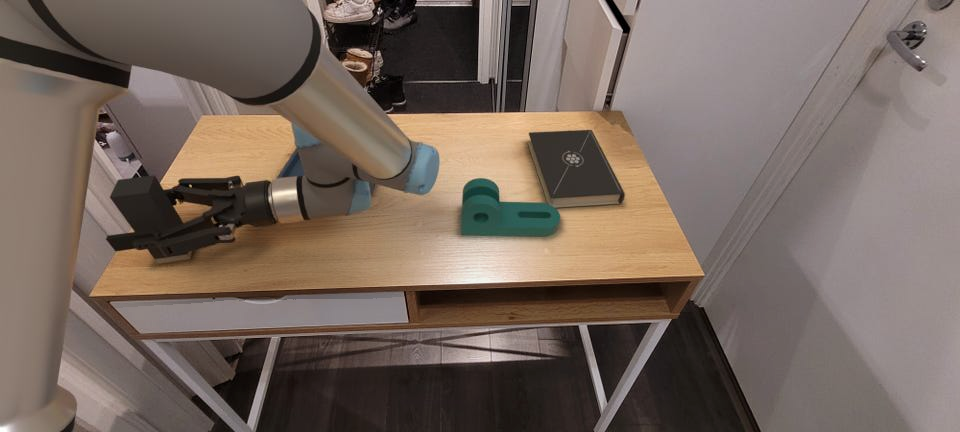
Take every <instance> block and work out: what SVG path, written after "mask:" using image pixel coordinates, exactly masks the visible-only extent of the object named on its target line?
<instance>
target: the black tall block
mask: <svg viewBox="0 0 960 432" xmlns="http://www.w3.org/2000/svg"><path fill="white" fill-rule="evenodd" d="M164 190H165V189H164V188H163V186H162V185H161V183H160V181H159V180H158V178H157V176H156V175H145V176H138V177H130V178H123V179H122V178H121V179H120V178H119V179H117V181H116V183H115V186H114V187H113V189H112V192H111V193H110V195H109V199H110V200H111V201H112V203H113V204H114V205H115V207H116V208H117V210H118V211H119V212H120V214H121V215H122V216H123V218H124V219H125V221H126V222H127V224H128V225H129V227H130V228H131V229H132V230H133V232H138V231H145V230H153V229H157V231H158V232H159V233H160V232H162V231H165V230H167V229H170V228H172V227H175V226H177V225H180V224H183V223H184V221H183V220H182V218H181V216H180V215H179V213H178V212H177V210H176V208H175V205H174V206H173V205H172V203H171V201H170V200H169V198H168V196H167V195H166V193H165V191H164ZM167 239H170V238H167ZM146 250H147V251H148V252H149V254H150V256H151V257H152V258H153V259H154V261H155V262H156V263H157V264H158V265H161V264H167V263H173V262H179V261H187V260H191V258H192V254H193V251H189V252H185V253H182V254H178V255H174V256H171V257H165V256H164V254H163V253H162V252H161V250H160V249H159V248H152V249H146Z"/></svg>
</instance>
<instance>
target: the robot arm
mask: <svg viewBox="0 0 960 432" xmlns="http://www.w3.org/2000/svg"><path fill="white" fill-rule="evenodd" d="M133 66H134V67H138V68H143V69H147V70H153V71H158V72H162V73H165V74H168V75H172V76H174V77H175V76H176V77H179V78H183V79H186V80H189V81H193V82H197V83H200V84H203V85H205V86H208V87H210V88H213V89H215V90H217V91H219V92H221V93H223V94H225V95H226V96H228V97H230V98H231V99H233V100H234V101H236V102H238V103H240V104H243V105H245V106H249V107H256V108H261V107H262V108H263V107H267V108H269V109H270V110H271V111H273V112H275V113H276V114H278V115H279V116H281V117H282V118H283V119H285V120H287V121H288V122H289V123H290V124H291V125H290V126H291V130H292V134H293V137H294V140H293V142H294V146H295V148H297V150H298V153H299V157H300V160H301V163H302V166H303V169H304V172H305V175H303V176H295V177H286V178H277V177H276V178H277V179H276V178H273V179H272V180H271V181H270V180H268V179H265V180H263V179H262V180H256V181H248V182H246V183H245V184H244V182H243V180H242V178H241V176H240V175H233V176H228V177H183V178H180V179H178V181H177V182H178V183H177V185H174V186H172V187H171V188H167V189H166V188H165V189H163V190H164V191H165V193H166V195H167V196H168V198H169V200H170V201H171V203H172V205H173V206H174V207H175V206H177V204H178V203H179V205H182V204H184V203H188V204H195V205H201V206H207V207H211V208H210V209H209V210H206V211H204V212H203V213H202V215H201V216H198V217H195V218H193V219H190V220H188V221H185V222H183V224H180V225H177V226H175V227H172V228H170V229H167V230H165V231H162V232H160V233H159V232H158V231H157V229H153V230H145V231H138V232H134V231H132V232H124V233H116V234H110V235H109V234H108V235H107V236H106V238H105V241H106V242H107V243H108V244H109V245H110V247H111V248H112V249H113V251H115V252H122V251H129V250H136V251H146V250H147V249H152V248H159V249H160V250H161V252H162V253H163V254H164V256H165V257H171V256H174V255H178V254H182V253H185V252H189V251H192V252H193V251H196V250H200V249H203V248H207V247H211V246H215V245H218V244H219V245H220V244H233V243H235V242H236V241H237V240H236V237H235V233H236V230H237V229H239V228H240V229H241V228H242V227H244V226H250V227H253V228H256V229H257V228H265V227H272V226H276V225H277V224H278V223H280V224H281V225H285V224H290V223H298V222H304V221H305V222H306V221H311V220H313V221H314V220H321V219H326V218H327V219H328V218H335V217H344V216H346V217H347V216H351V215H355V214H360V213H361V214H362V213H364V212H368V211H369V210H370V209H371V208H372V196H371V195H372V193H371V194H370V187H369V182H370V183H373V184H375V185H377V186H381V187H385V188H389V189H393V190H396V191H399V192H402V193H404V194H413V195H418V196H424V195H427V194H429V193H430V192H431V191H432V189H433V187H434V186H435V184H436V182H437V178H438V175H439V170H440V163H441V161H440V160H441V158H440V153H439V151H438V149H437V148H436V147H434V146H433V145H429V144H426V143H424V142H422V141H414V140H411V138H409V137H408V136H407V135H406V134H405V132H403V130H402V129H400V127H399V126H398V125H397V124H396V122H394V120H393V119H392V118H391V117H390V116H389V115H388V114H387V113H386V112H385V110H384V109H383V108H382V107H381V106H380V105H379V104H378V103H377V102H376V100H375V99H374V98H373V97H372V96H371V95H370V94H369V93H368V92H367V90H366V89H365V88H364V87H363V86H362V84H360V83H359V82H358V80H357V79H356V78H355V77H354V76H353V75H352V73H350V72H349V70H348V69H347V68H346V67H345V66H344V65H343V64H342V63H341V61H340V60H339V59H338V58H337V57H336V56H335V54H333V53H332V52H331V50H330V49H329V48H328V47H327V46H326V45H325V44H324V36H323V30H322V28H321V25H320V23H319V21H318V19H317V17H316V16H315V14H314V13H313V12H312V11H311V10H310V8H309V7H308V6H307V5H306V4H305V2H304V1H303V0H0V432H74V430H75V424H76V423H75V421H76V415H77V411H78V402H77V398H76V396H75V395H74V394H73V393H72V392H71V391H69V390H68V389H66V388H65V387H63V386H61V385H59V383H58V382H59V376H60V370H61V368H60V367H61V363H62V357H63V349H64V344H65V338H66V332H67V331H66V330H67V323H68V317H69V312H70V311H69V310H70V305H71V297H72V292H73V291H72V290H73V286H74V285H73V284H74V278H75V271H76V265H77V259H78V252H79V246H80V239H81V233H82V226H83V221H84V215H85V214H84V213H85V208H86V200H87V193H88V186H89V181H90V174H91V168H92V161H93V154H94V149H95V142H96V136H97V135H96V134H97V128H98V122H99V117H100V111H101V110H102V108H103V107H104V106H105V105H106V104H108V103H110V102H112V101H114V100H116V99H118V98H119V97H122V96H123V95H126V94H128V92H129V85H130V81H131V74H132V70H133V69H132V68H133ZM214 222H215V223H214ZM167 238H170V239H167Z"/></svg>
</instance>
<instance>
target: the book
mask: <svg viewBox="0 0 960 432" xmlns="http://www.w3.org/2000/svg"><path fill="white" fill-rule="evenodd" d="M528 136H529V139H530V142H527V144H526V145H527V146H528V149H529V153H530V156H531V158H532V161H533V164H534V168H535V171H536V174H537V176H538V180H539V182H540V186H541V189H542V191H543V194H544V197H545V198H544V199H545V201H546V204H549V205H552V206H553V207H555V208H556V209H567V208H569V209H570V208H583V207H584V208H585V207H601V206H615V205H621V204H622V203H623V202H624V199H625V196H626V194H625V191H624V189H623V187H622V185H621V183H620V181H619V179H618V178H617V176H616V174H615V171H614V169H613V168H612V166H611V164H610V162H609V160H608V159H607V156H606V155H605V153H604V151H603V148H602V146H601V145H600V143H599V140H598V139H597V137H596V135H595V133H594V132H593V130H592V129H575V130H552V131H531V132H528Z"/></svg>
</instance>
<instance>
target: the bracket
mask: <svg viewBox="0 0 960 432" xmlns="http://www.w3.org/2000/svg"><path fill="white" fill-rule="evenodd" d="M461 198H462V200H461V236H481V237H482V236H483V237H486V236H488V237H524V238H526V237H527V238H531V237H533V238H547V237H550V236H552V235H555V234H556V233H557V232H558V229H559V226H560V221H561V213H560V212H559V210H558V208H555V207H553V206H552V205H549V204H547V202H538V201H537V202H535V201H534V202H531V201H530V202H529V201H501V199H500V198H501V197H500V188H499V186H498V184H497V183H496V182H494V181H493V180H491V179H489V178H484V177H480V178H479V177H478V178H473V179H471V180H469V181H467V182H466V183H465V185H464V186H463V188H462V197H461Z"/></svg>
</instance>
